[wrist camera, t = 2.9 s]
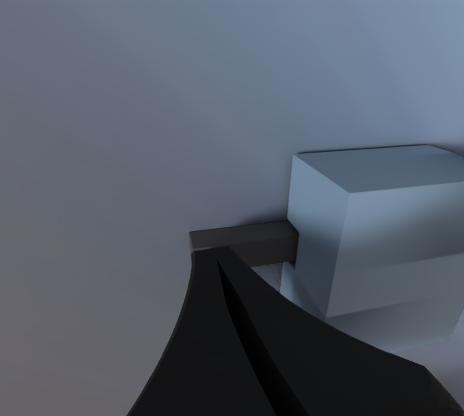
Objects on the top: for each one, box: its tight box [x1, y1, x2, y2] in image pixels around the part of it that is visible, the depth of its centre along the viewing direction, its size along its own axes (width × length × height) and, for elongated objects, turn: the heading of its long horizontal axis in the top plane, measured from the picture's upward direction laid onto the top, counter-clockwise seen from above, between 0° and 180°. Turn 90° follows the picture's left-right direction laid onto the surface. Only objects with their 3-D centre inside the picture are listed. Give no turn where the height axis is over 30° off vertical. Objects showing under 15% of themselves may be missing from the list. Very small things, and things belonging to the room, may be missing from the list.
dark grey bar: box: [189, 221, 299, 267], centre depth 14 cm, size 1×25×1 cm, turn 90°
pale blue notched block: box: [280, 145, 464, 353], centre depth 12 cm, size 7×6×4 cm
